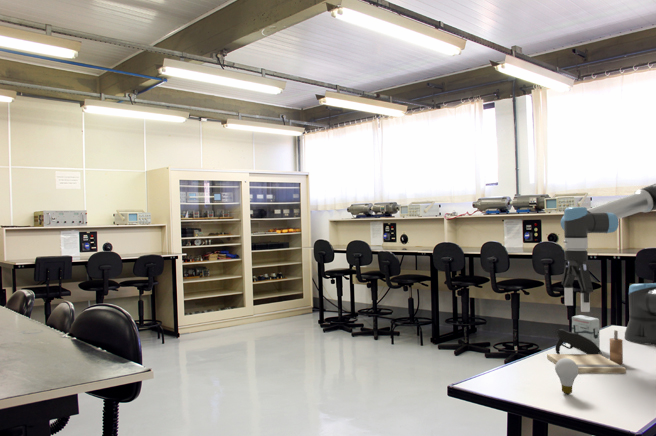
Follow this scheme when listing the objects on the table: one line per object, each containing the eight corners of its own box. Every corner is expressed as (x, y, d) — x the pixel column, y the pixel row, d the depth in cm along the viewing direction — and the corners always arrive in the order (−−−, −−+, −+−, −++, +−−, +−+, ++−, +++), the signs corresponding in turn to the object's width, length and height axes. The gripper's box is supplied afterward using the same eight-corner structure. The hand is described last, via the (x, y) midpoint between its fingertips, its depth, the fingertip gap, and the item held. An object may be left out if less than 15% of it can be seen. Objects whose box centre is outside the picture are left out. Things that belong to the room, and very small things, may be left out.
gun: (592, 372, 178) (606, 348, 177) (549, 350, 181) (562, 325, 180) (590, 370, 181) (603, 346, 180) (547, 348, 184) (560, 324, 183)
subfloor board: (599, 358, 175) (599, 354, 175) (625, 373, 158) (625, 368, 158) (547, 358, 176) (547, 353, 176) (568, 372, 159) (567, 367, 159)
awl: (619, 361, 172) (618, 329, 172) (625, 364, 168) (624, 331, 168) (607, 361, 172) (607, 329, 172) (613, 364, 168) (613, 331, 168)
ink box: (571, 346, 193) (570, 315, 193) (580, 345, 195) (579, 314, 195) (591, 351, 185) (591, 319, 185) (600, 350, 187) (600, 318, 187)
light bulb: (558, 389, 143) (558, 354, 143) (581, 393, 140) (580, 358, 140) (552, 395, 139) (552, 359, 139) (575, 399, 135) (575, 362, 135)
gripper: (551, 248, 194) (552, 302, 193) (580, 251, 169) (581, 314, 168) (571, 248, 193) (572, 302, 193) (603, 251, 168) (604, 314, 168)
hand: (576, 308), depth 181 cm, fingers open, 13 cm apart
